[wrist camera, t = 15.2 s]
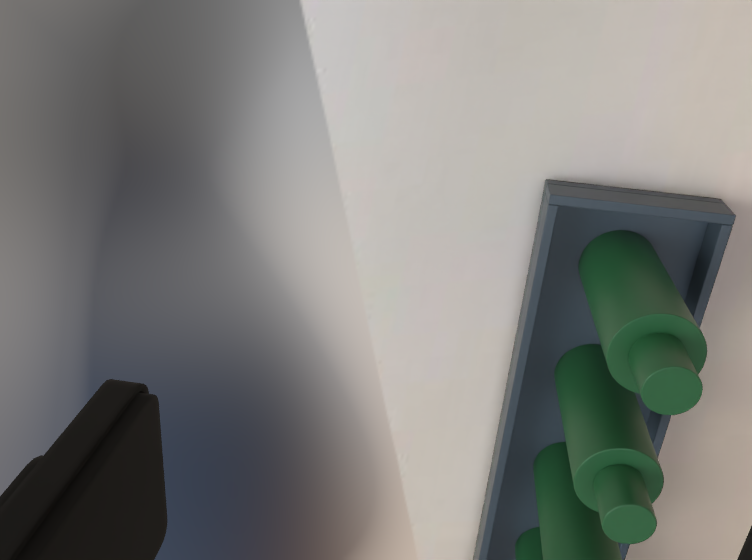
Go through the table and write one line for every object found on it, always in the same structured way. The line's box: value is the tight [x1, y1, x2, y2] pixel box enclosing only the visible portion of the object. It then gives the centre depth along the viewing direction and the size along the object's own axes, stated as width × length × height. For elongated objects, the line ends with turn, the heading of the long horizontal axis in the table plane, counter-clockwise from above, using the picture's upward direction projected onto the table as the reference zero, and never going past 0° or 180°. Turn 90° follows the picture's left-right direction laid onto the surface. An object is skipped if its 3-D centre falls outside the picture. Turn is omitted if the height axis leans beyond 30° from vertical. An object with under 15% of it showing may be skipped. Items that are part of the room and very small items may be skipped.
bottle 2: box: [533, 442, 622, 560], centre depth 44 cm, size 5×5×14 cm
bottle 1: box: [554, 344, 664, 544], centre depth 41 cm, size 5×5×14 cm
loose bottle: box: [579, 230, 707, 415], centre depth 37 cm, size 5×5×14 cm
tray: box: [473, 180, 736, 560], centre depth 48 cm, size 34×10×3 cm, turn 176°
